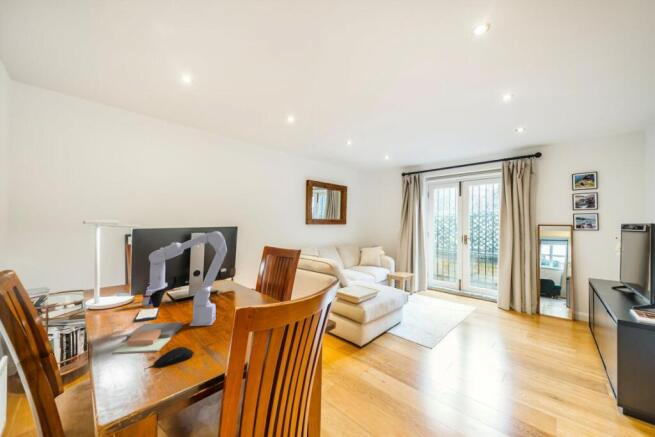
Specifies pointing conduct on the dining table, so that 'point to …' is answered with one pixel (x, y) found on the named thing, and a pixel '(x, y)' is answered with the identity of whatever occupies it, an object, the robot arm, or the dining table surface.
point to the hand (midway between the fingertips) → (156, 306)
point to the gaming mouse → (173, 357)
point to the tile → (144, 337)
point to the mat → (142, 347)
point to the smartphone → (147, 315)
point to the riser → (166, 328)
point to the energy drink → (146, 300)
